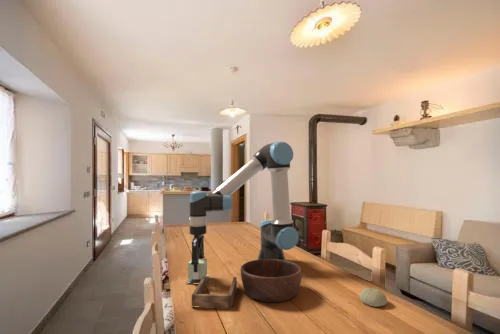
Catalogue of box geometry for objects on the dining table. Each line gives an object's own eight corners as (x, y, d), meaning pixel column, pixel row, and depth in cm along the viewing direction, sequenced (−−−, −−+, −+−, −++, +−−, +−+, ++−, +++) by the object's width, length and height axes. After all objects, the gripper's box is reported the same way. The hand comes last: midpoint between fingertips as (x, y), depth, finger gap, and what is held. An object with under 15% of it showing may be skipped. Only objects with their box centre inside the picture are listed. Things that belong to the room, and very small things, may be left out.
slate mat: (209, 277, 136) (209, 276, 136) (205, 284, 127) (205, 283, 127) (190, 277, 136) (190, 275, 136) (185, 284, 127) (185, 283, 127)
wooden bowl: (242, 281, 130) (242, 258, 131) (298, 281, 130) (297, 258, 130) (238, 306, 105) (238, 277, 106) (307, 306, 105) (306, 278, 105)
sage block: (206, 274, 135) (207, 258, 135) (203, 279, 128) (203, 263, 128) (192, 273, 135) (192, 258, 135) (188, 278, 128) (188, 263, 128)
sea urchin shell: (375, 306, 101) (363, 284, 106) (364, 315, 106) (352, 293, 111) (394, 301, 104) (381, 280, 110) (382, 310, 109) (370, 289, 115)
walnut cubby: (236, 287, 123) (236, 277, 123) (231, 308, 103) (231, 295, 103) (203, 287, 123) (203, 276, 123) (191, 307, 104) (191, 295, 104)
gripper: (195, 221, 142) (195, 268, 141) (183, 229, 122) (183, 284, 122) (210, 221, 142) (210, 269, 141) (201, 229, 122) (201, 284, 121)
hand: (198, 275), depth 131 cm, fingers closed on sage block, 7 cm apart
